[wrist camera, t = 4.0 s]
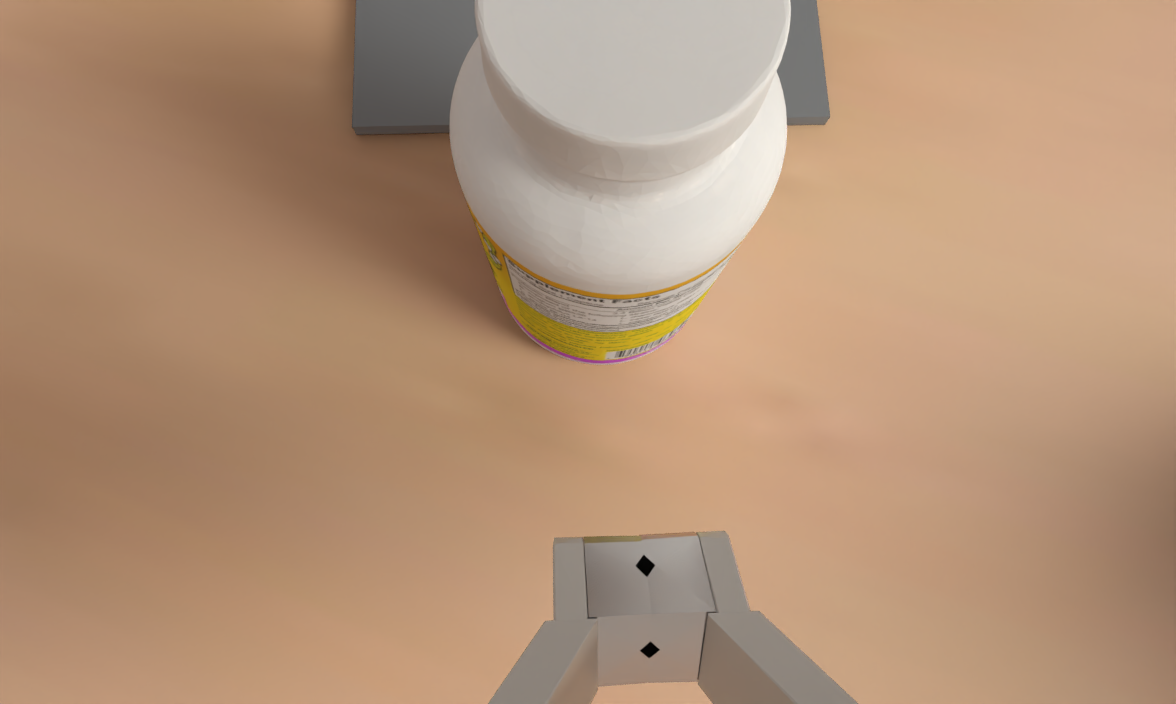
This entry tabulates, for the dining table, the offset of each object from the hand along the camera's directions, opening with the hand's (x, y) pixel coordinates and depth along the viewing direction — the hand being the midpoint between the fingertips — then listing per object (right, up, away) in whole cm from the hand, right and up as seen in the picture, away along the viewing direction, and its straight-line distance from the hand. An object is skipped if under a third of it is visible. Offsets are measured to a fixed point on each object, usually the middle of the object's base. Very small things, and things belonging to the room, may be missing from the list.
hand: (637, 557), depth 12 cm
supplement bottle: (0, +6, +11) cm, 12 cm away
